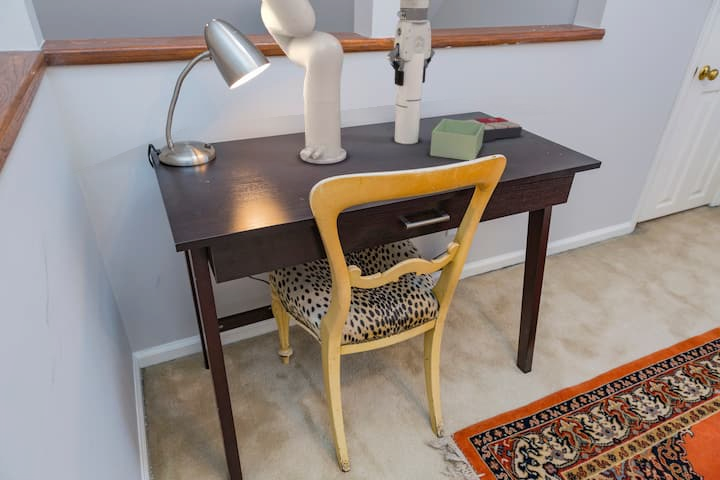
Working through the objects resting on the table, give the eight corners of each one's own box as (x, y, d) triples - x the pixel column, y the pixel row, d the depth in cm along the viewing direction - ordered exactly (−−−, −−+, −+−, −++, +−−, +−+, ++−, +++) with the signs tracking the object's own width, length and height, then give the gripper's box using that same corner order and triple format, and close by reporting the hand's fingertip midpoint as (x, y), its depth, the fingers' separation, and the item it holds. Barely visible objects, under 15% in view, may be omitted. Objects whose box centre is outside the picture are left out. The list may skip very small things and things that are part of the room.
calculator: (523, 124, 150) (484, 127, 144) (520, 138, 152) (482, 142, 146) (499, 116, 159) (462, 118, 152) (497, 129, 161) (460, 132, 154)
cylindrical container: (419, 144, 144) (425, 54, 132) (395, 143, 144) (399, 54, 132) (417, 136, 150) (423, 51, 138) (394, 136, 150) (398, 50, 138)
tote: (473, 161, 132) (477, 136, 128) (429, 155, 135) (432, 131, 132) (481, 145, 143) (484, 123, 140) (441, 140, 147) (443, 118, 144)
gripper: (396, 17, 123) (393, 89, 132) (447, 15, 132) (441, 82, 141) (379, 15, 129) (377, 84, 137) (429, 13, 137) (424, 78, 146)
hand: (409, 83), depth 139 cm, fingers closed on cylindrical container, 7 cm apart
